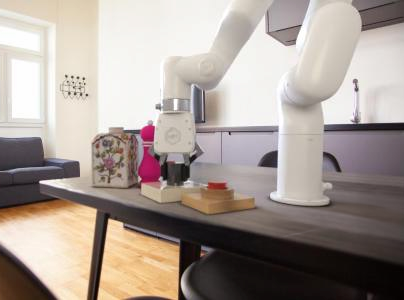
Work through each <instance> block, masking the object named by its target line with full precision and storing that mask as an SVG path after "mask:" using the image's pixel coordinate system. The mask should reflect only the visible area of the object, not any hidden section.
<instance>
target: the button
mask: <svg viewBox="0 0 404 300" xmlns="http://www.w3.org/2000/svg"><path fill="white" fill-rule="evenodd" d="M227 183H228V182H227V180H226V181H225V180H220V179H219V180H218V179H211V180H208V181H207V185H208V189H215V190H224V189H227V186H228V184H227Z"/></svg>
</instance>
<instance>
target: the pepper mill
mask: <svg viewBox="0 0 404 300" xmlns="http://www.w3.org/2000/svg"><path fill="white" fill-rule="evenodd" d="M154 135H155V125H154V121H153V120H152V119H148V120H147V125H145V126H143V127H142V128H141V129H140V132H139V137H140V139H141V140H142V142H141V147H142V148H143V149H142V150H143V155H142V159H141V161H140V163H139V169H138V175H139V178H140V180H139V187H140V188H141V183H150V182H161V180H160V178H162V177H161V165H160V164H159V162H158V161H157V160H156V159H155V158H154V157H153V156H152V155H151V154H149V153H148V150H149V149H150V147H151V146H152V144H153V143H154Z"/></svg>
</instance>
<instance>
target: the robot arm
mask: <svg viewBox="0 0 404 300" xmlns="http://www.w3.org/2000/svg"><path fill="white" fill-rule="evenodd" d="M274 1H275V0H230V2H229V3H228V5H227V7H226V8H225V10H224V12H223V14H222V17H221V19H220V21H219V24H218V27H217V31H216V33H215V36H214V38H213V40H212V41H211V44H210V46H209V47H208V49H207V51H206V52H202V53H197V54H192V55H188V56H187V55H186V56H183V55H173V56H167V57H165V58H163V60H162V61H161V64H160V101H159V103H156V104H155V106H154V107H155V110H159V113H156V118H155V125H154V126H155V135H154V143H153V144H152V146H151V147H150V149H149V150H148V153H149V154H151V155H152V156H153V157H154V158H155V159H156V160H157V161H158V162H159V164H160V165H161V177H160V178H162V182H163V181H167V161H168V157H169V154H176V155H177V154H179V155H181V154H182V157H183V161H184V166H183V182H186V181H187V180H189V179H190V178H191V165H192V164H193V163H194V162H195V161H196V160H197V159H198V158H200V157H201V156H202V155H204V153H205V151H204V149H203V148H202V146H201V145H200V144H199V142H198V140H197V129H196V121H195V120H196V119H195V115H194V113H193V112H192V85H194V86H195V87H196V88H198V89H199V90H200V91H204V92H205V91H206V92H207V91H212V90H214V89H216V87H218V85H220V83H221V82H222V80H223V79H224V77H225V75H226V74H227V72H228V71H229V69H230V68H231V66H232V64H233V63H234V62H235V60H236V58H237V57H238V55H239V54H240V52H241V51H242V49H243V48H244V46H245V45H246V44H247V43H248V42H249V40H250V39H251V37H252V36H253V34H254V32H255V31H256V30H257V28H258V26H259V24H260V23H261V21H262V20H263V18H264V17H265V15H266V14H267V12H268V10H269V9H270V7H271V6H272V4H273V2H274ZM352 3H353V0H309V2H308V7H307V10H306V12H305V16H304V18H303V22H302V24H301V27H300V29H299V31H298V34H297V37H296V41H295V51H296V53H297V56H298V60H297V62H296V64H295V65H294V66H293V67H291V68H290V69H288V70H287V71H286V72H285V73H284V74H283V76H281V78H280V80H279V82H278V85H277V88H276V89H277V90H276V100H277V111H278V137H277V138H278V139H277V175H276V182H277V183H276V191H272V192H270V193H269V198H270V199H271V200H272V201H275V202H278V203H281V204H288V205H292V206H303V207H304V206H305V207H320V206H327V205H329V204H330V198H329V196H327V195H325V194H324V192H327V191H332V189H333V184H332V183H331V182H324V181H323V167H324V165H323V164H324V163H323V162H324V136H325V135H324V134H325V118H324V112H323V106H322V102H325V101H327V100H329V99H330V98H333V96H334V95H336V93H338V91H339V90H340V89H341V86H342V85H343V83H344V81H345V78H346V76H347V73H348V71H349V69H350V66H351V63H352V60H353V57H354V55H355V52H356V49H357V45H358V43H359V40H360V38H361V33H362V27H363V26H362V17H361V14H360V12H359V11H358V9H357V8H356V7H355V6H353V5H352ZM195 151H196V152H195ZM194 152H195V153H194ZM190 153H194V154H192V155H191V154H190Z"/></svg>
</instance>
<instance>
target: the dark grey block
mask: <svg viewBox="0 0 404 300" xmlns="http://www.w3.org/2000/svg"><path fill="white" fill-rule="evenodd" d="M184 163H185V162H183V161H174V160H167V180H166V181H167V185H173V186H179V185H184V182H183V166H184Z"/></svg>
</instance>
